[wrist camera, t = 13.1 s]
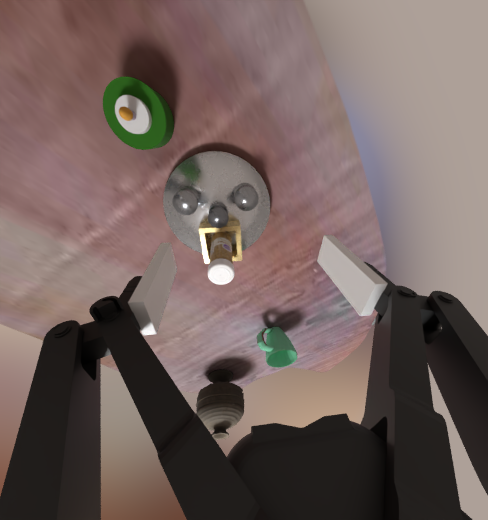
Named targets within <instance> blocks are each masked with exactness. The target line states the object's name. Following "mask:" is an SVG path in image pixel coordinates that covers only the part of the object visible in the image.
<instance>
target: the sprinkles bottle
mask: <svg viewBox="0 0 488 520" xmlns="http://www.w3.org/2000/svg"><path fill="white" fill-rule="evenodd" d="M211 241H212V244H211V253H210V264H209V267H208V277H209V279H210V280H211V281H212V282H213V283H215V284H220V285H222V284H227V283H229V282H230V281H231V280H232V279H233V277H234V266H233V261H232V245H231V237H230V235H229V234H228V233H227V232H225V231H224V232H216V233H214V234H213V236H212V239H211Z"/></svg>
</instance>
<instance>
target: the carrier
mask: <svg viewBox="0 0 488 520" xmlns="http://www.w3.org/2000/svg"><path fill="white" fill-rule="evenodd" d="M163 205H164V212H165V216H166V219H167V222H168V224H169V226H170V228H171V230H172V231H173V233H174V234H175V235H176V236H177V238H178V239H179V240H180V241H182V242H183V243H184V244H185V245H187V246H188V247H189V248H191V249H193V250H195V251H197V252H199V253H203V256H204V262H205V263H210V253H211V244H212V241H211V239H212V236H213V234H214V233H216V232H224V231H225V232H227V233H228V234H229V235H230V237H231V245H232V261H240V260H242V251H243V250H245V249H246V248H248V247H249V246H251V245H252V244H253V243H254V242H255V241H256V240H257V239H258V238H259V237H260V235H261V234H262V233H263V231H264V229H265V227H266V225H267V222H268V218H269V214H270V199H269V193H268V190H267V187H266V185H265V183H264V181H263V179H262V177H261V176H260V174H259V173H258V172H257V171H256V169H255V168H254V167H252V166H251V165H250V164H249V163H248V162H247V161H245V160H244V159H242V158H240V157H238V156H236V155H234V154H231V153H228V152H222V151H207V152H202V153H198V154H196V155H194V156H191V157H189V158H188V159H186V160H185V161H183V162H182V163H181V164H180V165H179V166H178V167H176V169H175V170H174V171H173V173H172V174H171V176H170V177H169V179H168V181H167V184H166V187H165V191H164V198H163Z"/></svg>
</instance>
